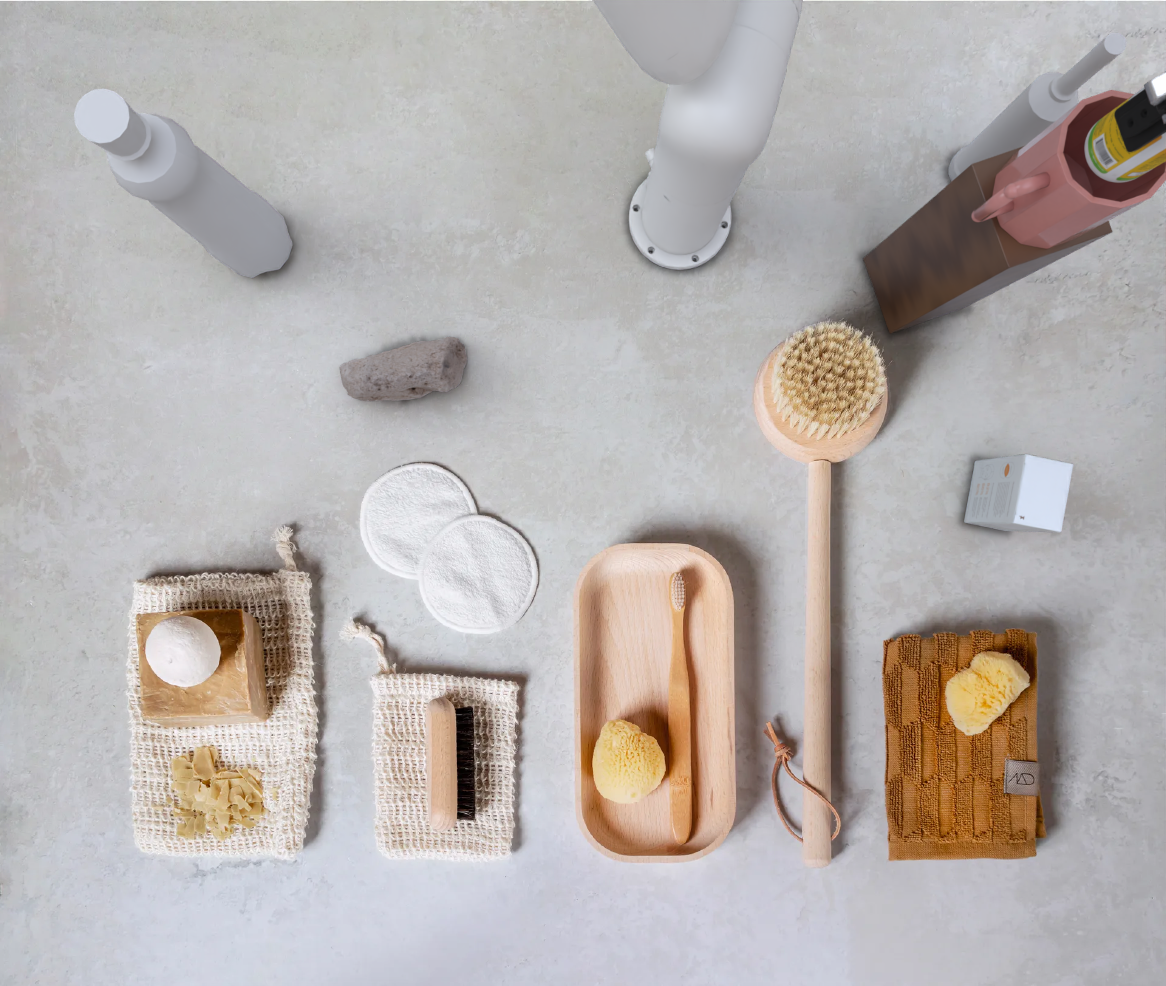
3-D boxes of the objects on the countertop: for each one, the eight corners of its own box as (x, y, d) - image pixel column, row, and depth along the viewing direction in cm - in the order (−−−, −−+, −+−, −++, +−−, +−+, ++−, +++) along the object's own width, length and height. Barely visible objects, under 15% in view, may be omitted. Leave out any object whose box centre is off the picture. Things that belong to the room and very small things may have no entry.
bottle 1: (284, 199, 90) (137, 46, 60) (307, 268, 90) (171, 150, 60) (214, 222, 90) (31, 80, 60) (237, 291, 90) (65, 185, 60)
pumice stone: (466, 337, 90) (452, 316, 80) (471, 398, 90) (458, 385, 80) (344, 348, 90) (315, 329, 80) (349, 409, 90) (321, 397, 80)
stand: (862, 258, 90) (971, 163, 65) (938, 232, 90) (1075, 127, 65) (889, 333, 90) (1009, 268, 65) (965, 307, 90) (1113, 231, 65)
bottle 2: (995, 164, 90) (1154, 34, 66) (973, 199, 90) (1124, 82, 65) (960, 142, 91) (1106, 4, 66) (938, 177, 90) (1076, 51, 65)
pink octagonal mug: (943, 179, 65) (1001, 127, 56) (1072, 134, 65) (1151, 75, 56) (976, 273, 65) (1040, 236, 56) (1106, 228, 65) (1190, 184, 56)
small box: (1005, 531, 90) (1062, 535, 79) (961, 522, 90) (1012, 524, 79) (1018, 468, 90) (1076, 463, 79) (973, 459, 90) (1026, 452, 79)
